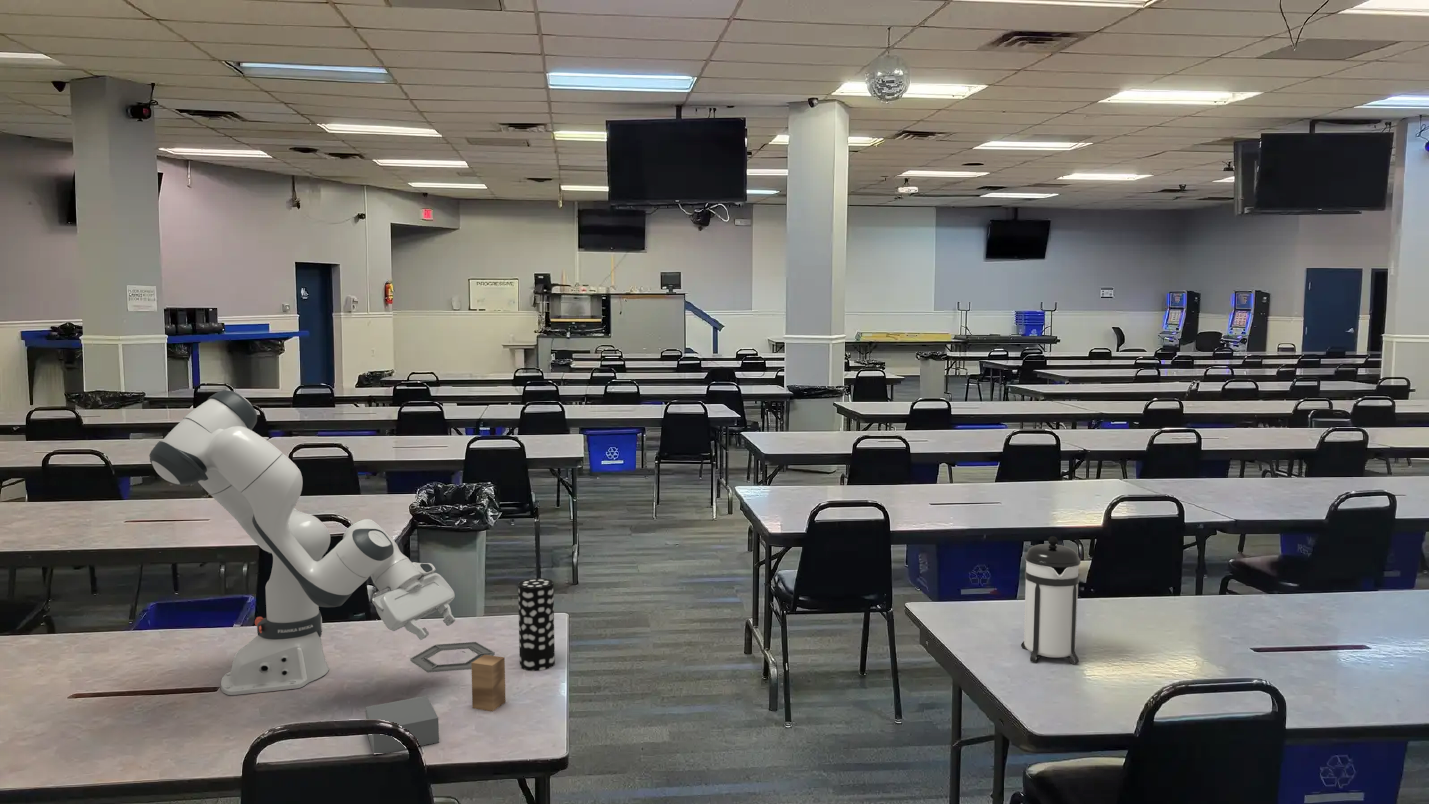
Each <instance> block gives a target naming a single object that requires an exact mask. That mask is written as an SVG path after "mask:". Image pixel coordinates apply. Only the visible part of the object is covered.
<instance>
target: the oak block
mask: <svg viewBox="0 0 1429 804" xmlns="http://www.w3.org/2000/svg"><path fill="white" fill-rule="evenodd" d="M505 658H506V657H505V656H496V655H493V656H491V655H483V656H482V657H480V658H478V659H477V660H475V661H474V662H472V663H471V667H472V669H471V696H472V697H471V699H472V700H471V703H472V704H471V705H472V707H471V708H472V709H476V710H481V711H488V712H495V710H497V709H499V708H500V707H501V706H503V705H504V704H505V703H507V702H506V700H507V699H506V665H505V664H506V663H505V662H506V661H505Z"/></svg>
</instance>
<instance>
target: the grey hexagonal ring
mask: <svg viewBox="0 0 1429 804" xmlns="http://www.w3.org/2000/svg"><path fill="white" fill-rule="evenodd" d="M467 649H468V650H470V651H472V652H474V654H477V655H475V656H474V657H472V658H470V659H469V660H467V661H466V662H457V663H456V662H455V663H446V664H445V663H444V664H437V663H435V662H433V661H431V660H430V658H431V657H432V656H435V655H437V654H438V653H439V652H441V651H453V650H454V651H455V650H467ZM461 653H465V654H467V652H465V651H461ZM495 654H496V653H495V651H493V650H492V649H490V648H488V647H486V646H484V645H482V644H480V643H479V642H477V641H469V642H468V641H467V642H453V643H442V644H433V645H432V646H430V647H428V648H427V649H425V650H422V651H421V652H420V653H418V654H416V655H414V656H413V657H410V659H409V660H410V662H411V663H413V664H415V665H416V666H418V667H419V668H420V669H422V670H424V671H425V672H426V673H436V672H437V673H440V672H451V671H464V670H472V667H471V663H472V662H474V661H475V660H477V659H478V658H480V657H482V656H483V655H491V656H496V655H495Z"/></svg>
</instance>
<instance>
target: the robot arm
mask: <svg viewBox="0 0 1429 804" xmlns="http://www.w3.org/2000/svg"><path fill="white" fill-rule="evenodd" d="M257 422H258V414H257V411H256V409H255V408H254V406H253V404H252V403H251V402H250V401H249V400H248V399H246V398H245V397H244V396H243V395H241V394H239V393H237V392H235V391H233V390H227V389H223V390H220V391H219V390H218V391H217V392H216V393H214V394H212V395H211V396H209V397H208V398H207V400H206V401H204V402H203V403H201V404H200V405H198V406H197V407H196V408H194V409H193V410H191V411H190V412H189V413H188V414H186V415H185V416H184V417H183V419H182V420H181V421H180V422H179V423H178V424H176V425H175V426H174V427H173V428H172V429H171V431H169V432H168V434H167V435H166V436H165V437H163V439H162V440H161V441H158V442H157V443H156V444H155V446H154V447H153V448H152V449H151V450H150V453H149V455H148V456H149V462H150V464H151V465H152V467H153V469H154V470H155V472H156V473H157V475H159V476H160V477H161V478H162V479H164V480H165V481H167V482H169V483H172V484H174V485H177V486H180V487H182V486H190V485H193V484H195V483H198V484H199V485H200V486H201V487H202V488H203V489H204V490H205V491H206V492H207V493H208V494H209V495H210V496H211V497H212V498H213V499H214V500H215V501H217V503H218V504H219V505H221V507H222V508H224V509H225V511H227V512H228V514H229V515H231V516H232V517H233V518H234V519H235V521H236V522H237V523H238V524H239V526H241V528H242V529H243V530H244V531H245V533H247V535H248V536H249V537H250V539H252V540H253V541H254V543H255V544H256V545H258V546H259V547H260V549H262V550H263V551H265V552H267V553H268V554H271V555H272V565H271V566H272V568H271V573H270V576H269V579H268V580H267V582H266V584H265V605H266V606H265V607H266V616H265V617H263V616H257V617H255V619H254V624H255V625H254V626H255V627H256V632H257V635H256V636H255V637H254V638H252V639H251V640H250V641H249V642H248V643H247V644H245V645H244V646H243V647H242V648H240V649H239V650H238V651H237V652H236V653H235V655H234V657H233V661H232V664H231V669H230V671H228V672H227V673H225V674H223V676H222V678H221V680H220V689H221V692H222V693H224V694H225V695H227V696H236V695H237V696H238V695H247V694H256V693H264V692H265V693H266V692H274V691H284V690H285V691H286V690H292V689H293V690H294V689H300V688H303V687H304V686H306V685H307V684H309V683H311V682H313V681H315V680H318V679H320V678H322V677H323V676H326V674H327V673H328V672H329V670H330V668H329V666H328V663H327V660H326V656H325V652H324V648H323V642H322V634H323V633H322V632H323V618H322V613H321V611H320V610H319V609H320V608H336V607H341V606H343V604H344V603H345V602H347V601H348V599H349V598H350V597H351V596H352V594H354V592H355V591H356V590H357V589H358V588H359V587H360V586H361V585H363V584H364V583H365V582H366V581H367V580H368V579H369V578H371V581H372V583H373V585H374V587H376V589H378V591H375V592H373V594H372V596H371V602H372V604H373V605H374V607H375V609H376V612H377V614H378V616H379V617H380V620H381V621H382V622H383V624H384V625H385V627H386V628H387V630H390V631H392V632H396V631H398V630H400V629H403V628H404V629H405V630H406V631H407V632H409V633H411V634H413V635H416V637H417V638H418V640H420V641H423V640H424V639H426V638H427V637H428V636H429V634H430V632H429V631H428V630H427V628H426V627H421V626H420V625H418V624H417V621H418V620H420V619H423V618H425V617H427V616H429V615H432V614H433V613H435V612H437V611H438V612H439V614H442V615H443V620H442V621H443V623H444V624H445V626H448V627H449V626H451V625H453V624H454V623H455V622H456V618H455V617H454V615H453V614H452V609H451V607H450V604H451V603H452V601H454V599H455V597H456V596H455V595H456V593H455V591H454V590H453V588H452V587H451V586H450V584H449V583H448V582H447V580H446V579H445V578H444V577H443V576H442V575H441V574H439V573H437V572H435V571H436V570H437V569H436V567H435V566H434V565H433V563H430V562H427V563H425V562H424V563H423V562H414V561H413V562H412V561H411V560H410V558H409V557H407V556H406V555H405V554H403V553H402V552H401V550H400V548H399V546H398V544H397V542H396V541H395V540H394V539H393V537H391V536H390V534H388V532H387V531H385V529H384V528H383V527H382V526H381V525H379V524H378V523H377V522H376V521H374V520H373V519H371V518H364V519H361V520H358V521H356V522H355V523H352V524H351V525H350V526H349V527H348V528H347V529H345V531H344V533H343V536H342V540H340V541H339V542H338V543H337V544H336V545H335V546H334V547H333V548H332V549H331V550H330V551H329V552H328V549H329V547H330V544H331V532H330V530H329V528H328V527H327V526H326V525H325V524H324V523H323V522H322V521H321V520H320V519H319V518H318V517H317V516H315V515H312V514H309V513H306V512H303V511H301V510H298V509H297V508H296V506H297V503H298V501H299V499H300V497H301V494H302V491H303V476H302V472H301V469H299V468H298V466H297V464H296V463H295V462H293V461H292V460H291V459H290V457H288V456H287V455H286V454H284V453H283V451H281V450H280V449H279V448H278V447H277V446H275V445H274V444H273V443H271V442H270V441H269V440H267V439H265V438H264V437H263V436H261V435H260V434H258V433H256V432H255V431H253V429H254V427H255V426H256V425H257ZM326 552H328V553H327V554H326ZM324 555H325V556H324ZM319 607H320V608H319Z"/></svg>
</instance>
